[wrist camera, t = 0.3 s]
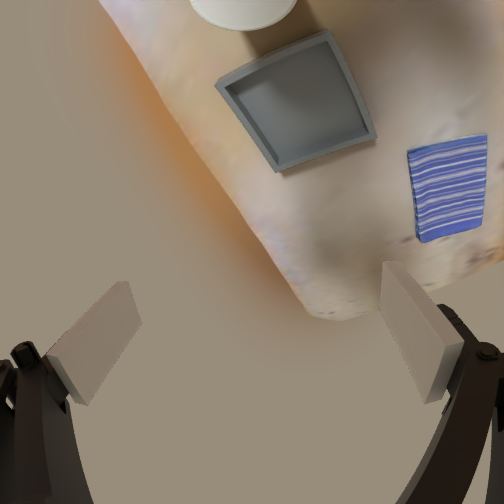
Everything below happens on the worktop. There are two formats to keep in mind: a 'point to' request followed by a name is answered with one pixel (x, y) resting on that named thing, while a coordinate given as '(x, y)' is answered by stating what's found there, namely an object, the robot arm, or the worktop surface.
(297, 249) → the worktop surface
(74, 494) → the robot arm
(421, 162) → the dish towel
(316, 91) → the tray
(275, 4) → the supplement tub
